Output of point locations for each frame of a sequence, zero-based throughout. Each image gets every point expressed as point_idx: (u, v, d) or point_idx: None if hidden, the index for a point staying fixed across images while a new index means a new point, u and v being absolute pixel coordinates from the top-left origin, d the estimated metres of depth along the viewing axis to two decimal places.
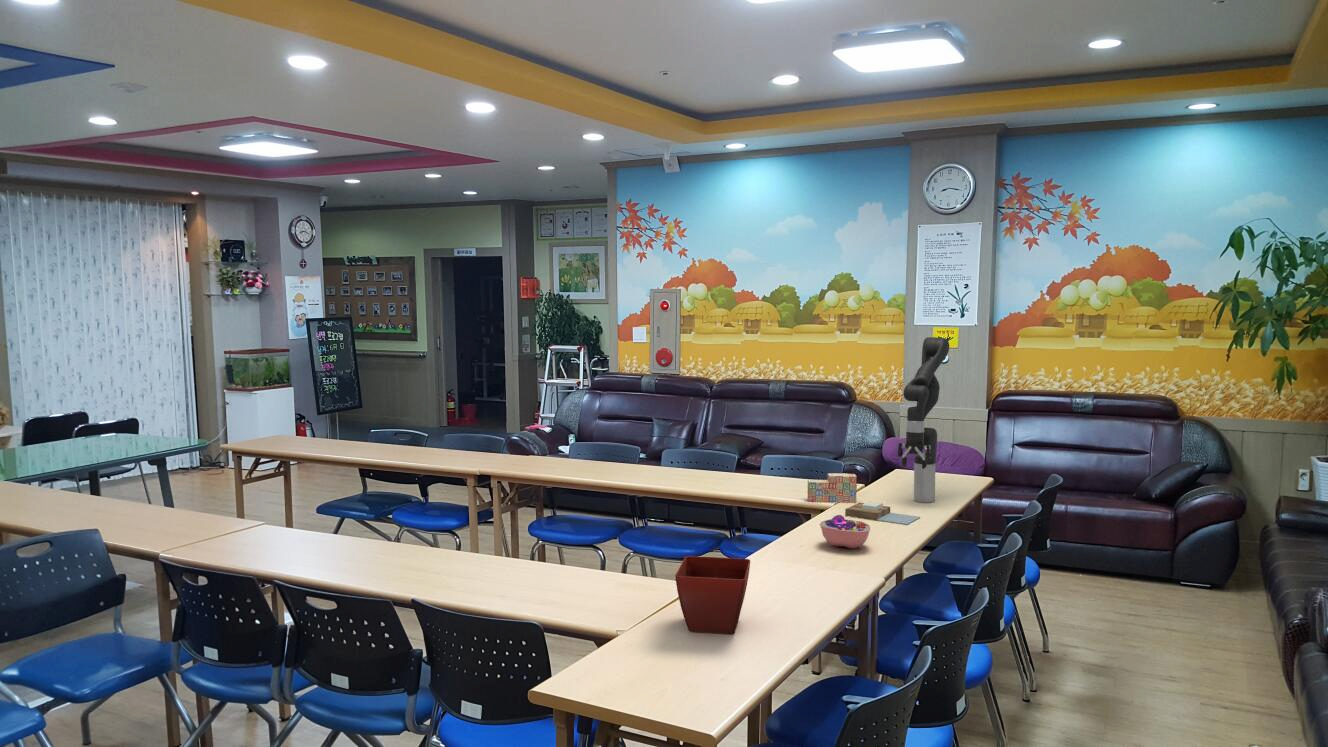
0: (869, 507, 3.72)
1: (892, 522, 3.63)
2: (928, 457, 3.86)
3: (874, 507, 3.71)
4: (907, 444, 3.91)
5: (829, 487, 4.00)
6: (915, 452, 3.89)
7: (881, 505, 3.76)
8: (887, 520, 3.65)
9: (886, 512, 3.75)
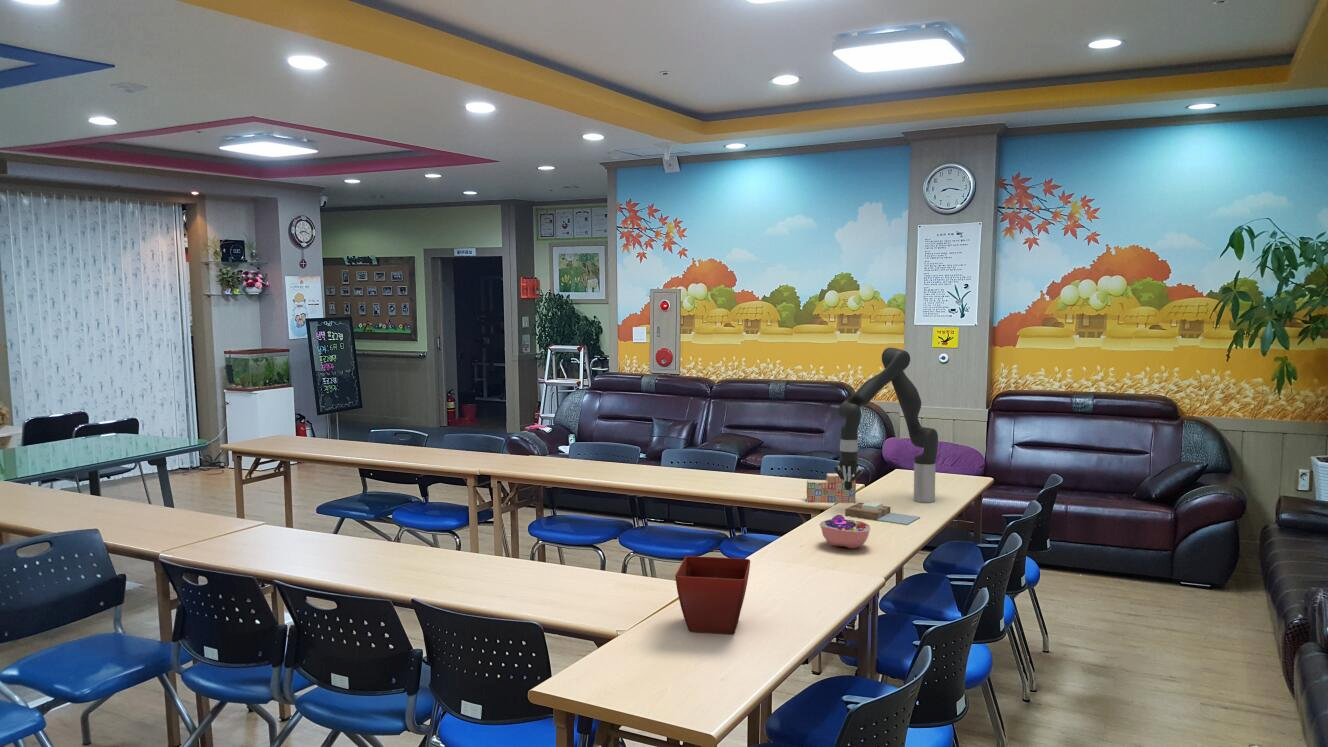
0: (869, 507, 3.72)
1: (892, 522, 3.63)
2: (853, 478, 3.78)
3: (874, 507, 3.71)
4: (840, 463, 3.82)
5: (829, 487, 4.00)
6: (846, 469, 3.80)
7: (881, 505, 3.76)
8: (887, 520, 3.65)
9: (886, 512, 3.75)
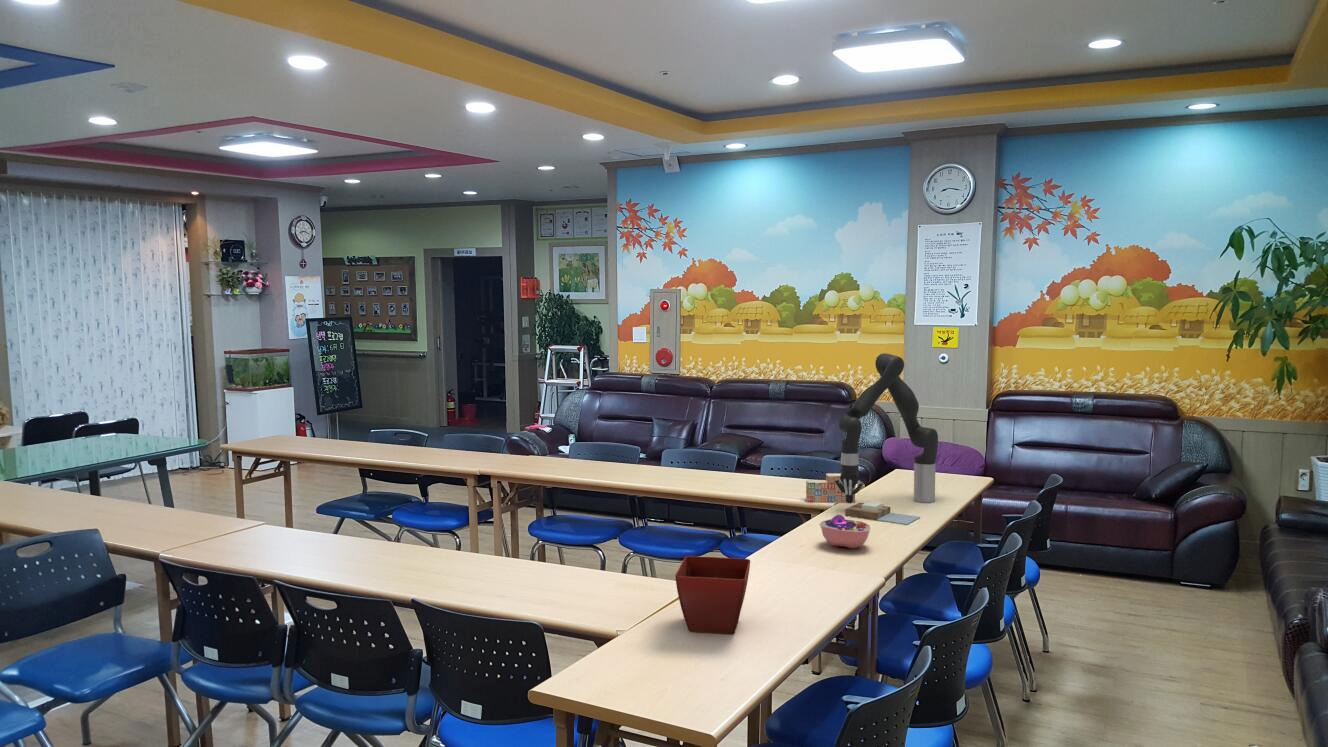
0: (869, 507, 3.72)
1: (892, 522, 3.63)
2: (854, 492, 3.79)
3: (874, 507, 3.71)
4: (841, 476, 3.82)
5: (828, 487, 4.00)
6: (847, 483, 3.81)
7: (881, 505, 3.76)
8: (887, 520, 3.65)
9: (886, 512, 3.75)
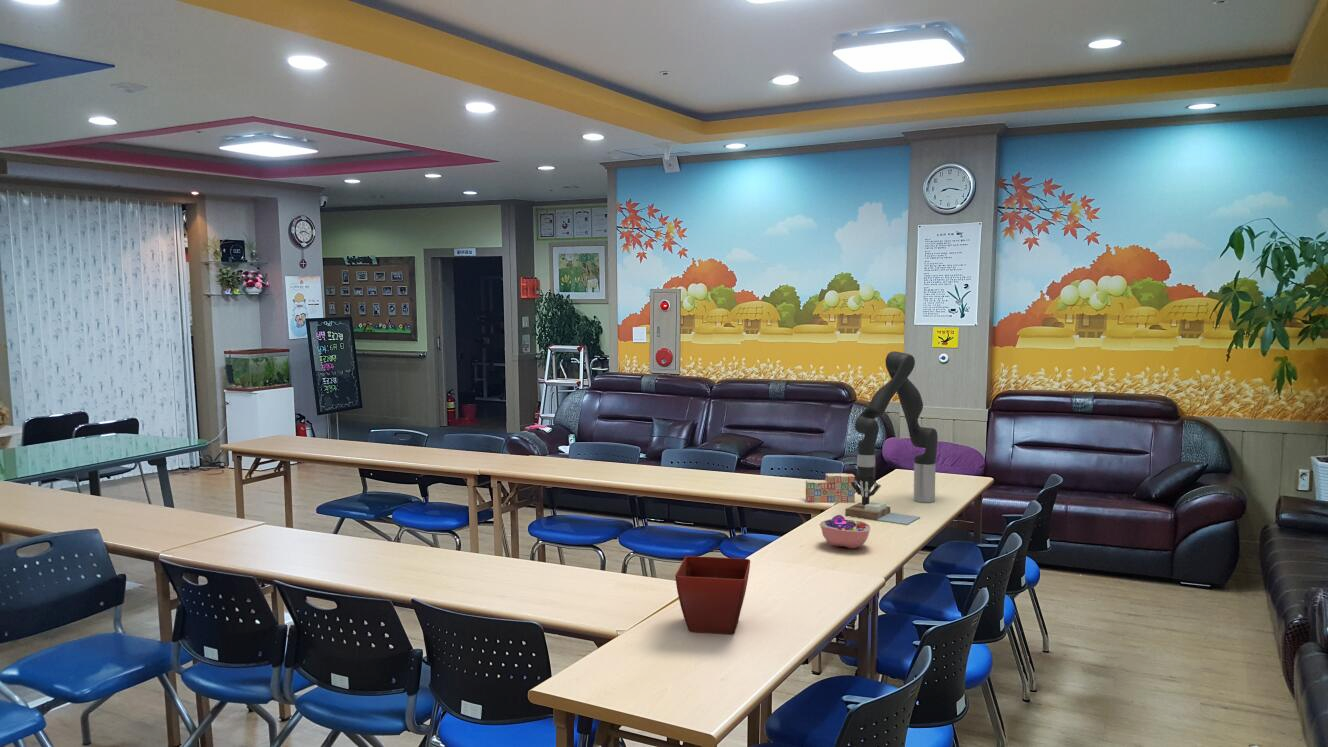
0: (872, 507, 3.71)
1: (892, 522, 3.63)
2: (870, 494, 3.74)
3: (877, 507, 3.70)
4: (857, 478, 3.78)
5: (828, 487, 4.00)
6: (863, 484, 3.76)
7: (884, 505, 3.75)
8: (887, 520, 3.65)
9: (886, 512, 3.75)
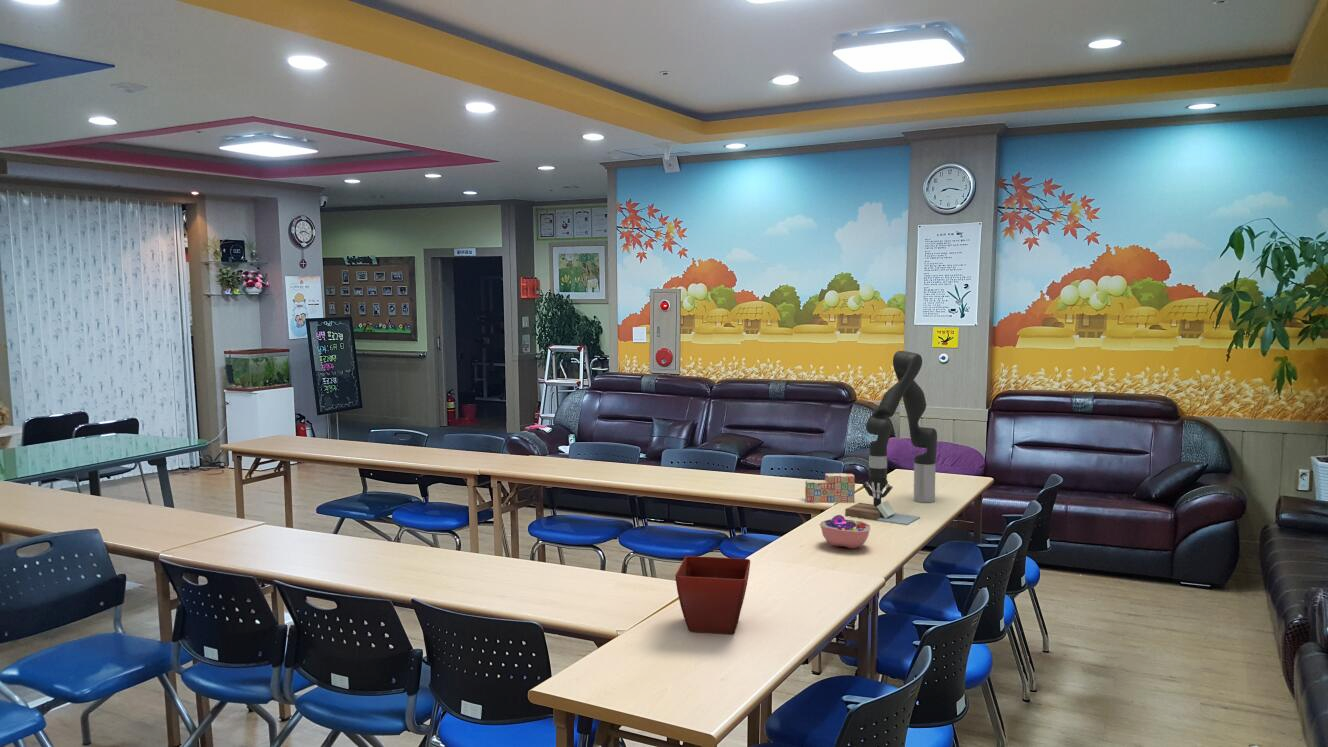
0: (883, 511, 3.68)
1: (892, 522, 3.63)
2: (882, 495, 3.71)
3: (887, 515, 3.68)
4: (869, 480, 3.74)
5: (828, 487, 4.00)
6: (875, 486, 3.73)
7: None
8: (887, 520, 3.65)
9: None
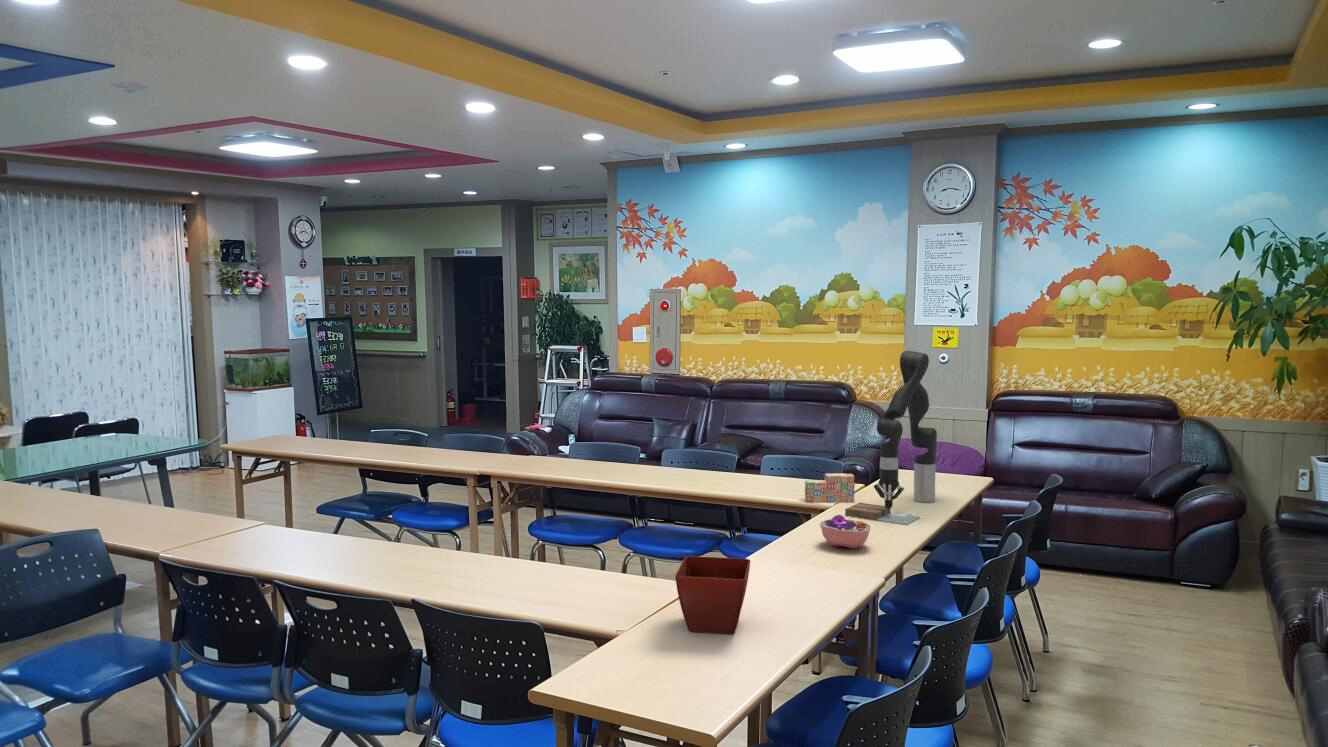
0: (896, 518, 3.65)
1: (892, 522, 3.63)
2: (894, 497, 3.68)
3: (891, 518, 3.67)
4: (880, 481, 3.72)
5: (827, 487, 4.00)
6: (886, 487, 3.70)
7: None
8: (887, 520, 3.65)
9: (886, 512, 3.75)
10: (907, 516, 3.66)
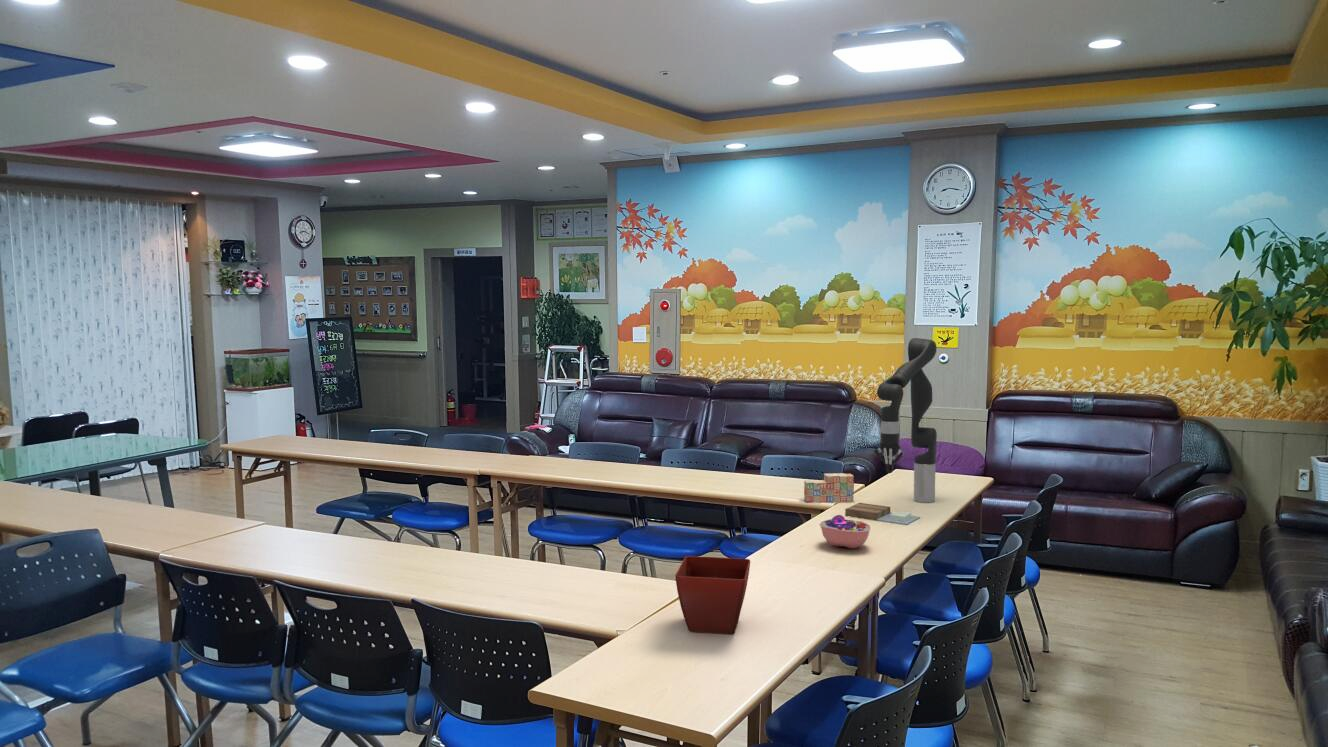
0: (896, 518, 3.65)
1: (892, 522, 3.63)
2: (894, 461, 3.69)
3: (891, 518, 3.67)
4: (881, 445, 3.72)
5: (827, 487, 4.00)
6: (887, 452, 3.71)
7: None
8: (887, 520, 3.65)
9: (886, 512, 3.75)
10: (907, 516, 3.66)
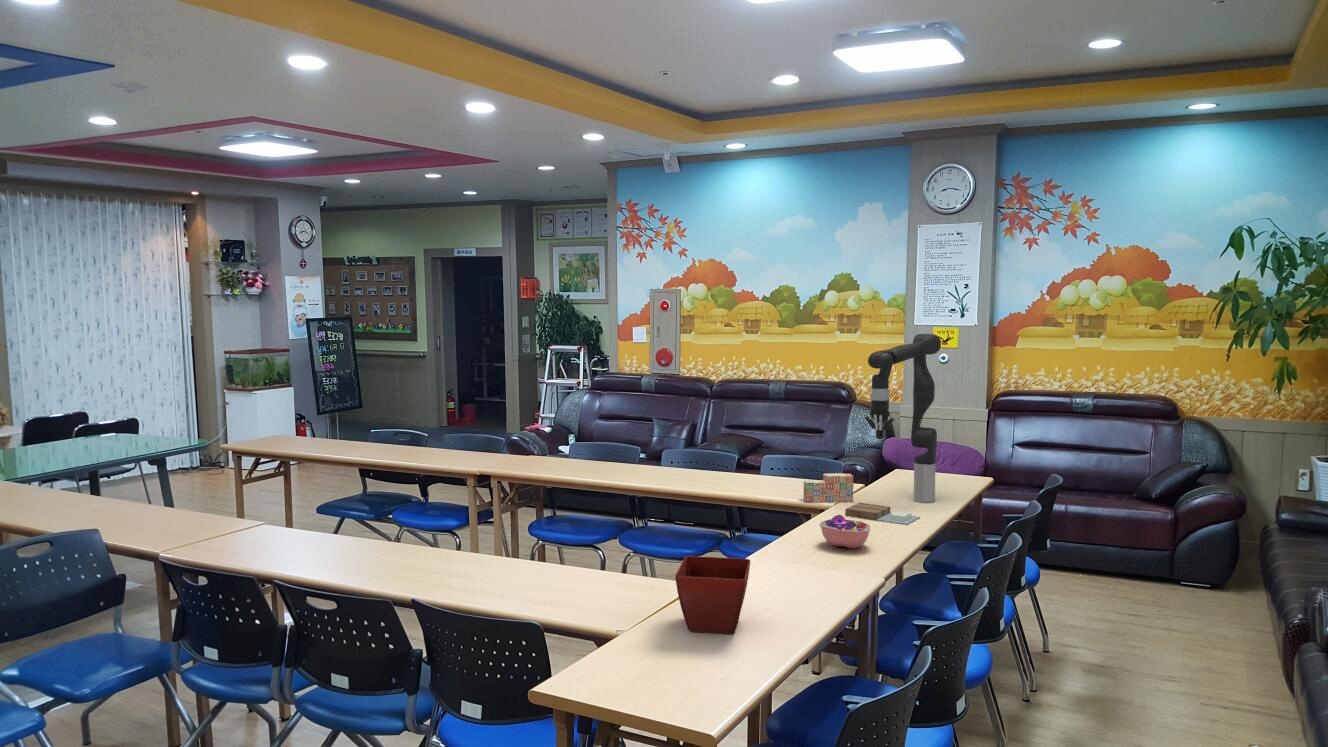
0: (896, 518, 3.65)
1: (892, 522, 3.63)
2: (884, 427, 3.81)
3: (891, 518, 3.67)
4: (871, 412, 3.84)
5: (827, 487, 4.00)
6: (877, 418, 3.83)
7: None
8: (887, 520, 3.65)
9: (886, 512, 3.75)
10: (907, 516, 3.66)
